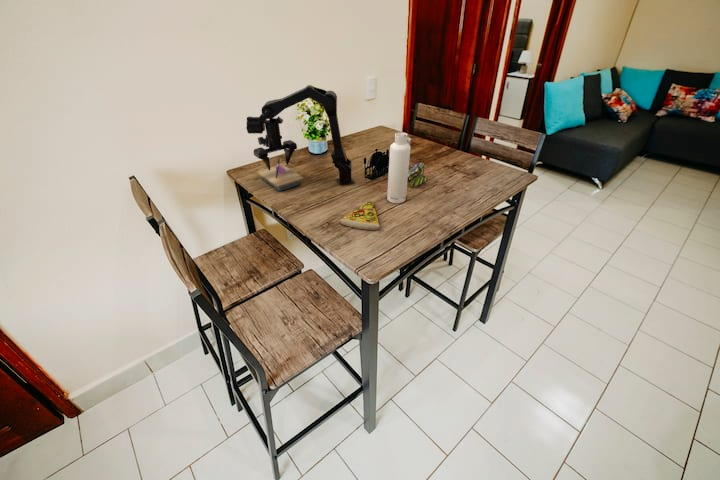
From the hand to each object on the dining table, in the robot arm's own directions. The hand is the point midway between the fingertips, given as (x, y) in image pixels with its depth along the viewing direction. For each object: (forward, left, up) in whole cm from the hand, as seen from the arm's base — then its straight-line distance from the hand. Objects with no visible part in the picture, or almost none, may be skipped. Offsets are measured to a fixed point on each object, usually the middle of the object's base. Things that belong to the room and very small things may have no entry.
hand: (278, 167), depth 153 cm
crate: (0, 0, -7) cm, 7 cm away
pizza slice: (-43, -24, -8) cm, 50 cm away
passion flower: (-26, -58, -8) cm, 64 cm away
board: (0, 0, -4) cm, 4 cm away
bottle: (-36, -42, -8) cm, 56 cm away
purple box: (0, -1, -4) cm, 4 cm away
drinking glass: (+3, -68, -8) cm, 69 cm away
